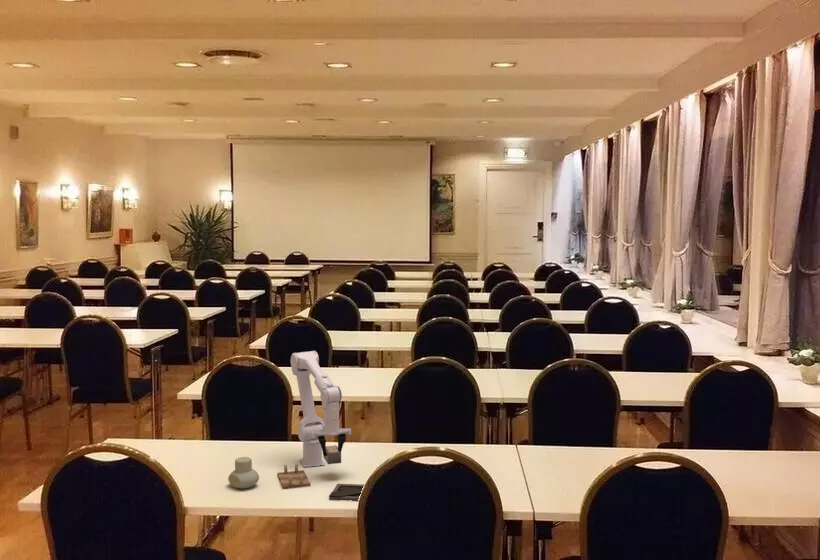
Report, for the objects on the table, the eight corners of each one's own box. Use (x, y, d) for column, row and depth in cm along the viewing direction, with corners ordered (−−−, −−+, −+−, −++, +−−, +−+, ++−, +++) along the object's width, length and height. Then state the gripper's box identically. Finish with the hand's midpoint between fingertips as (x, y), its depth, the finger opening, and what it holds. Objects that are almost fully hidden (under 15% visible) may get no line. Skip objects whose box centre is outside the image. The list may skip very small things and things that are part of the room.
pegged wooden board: (277, 475, 299) (277, 465, 299) (303, 472, 302) (303, 462, 302) (282, 489, 285) (282, 478, 284) (310, 486, 288) (310, 475, 287)
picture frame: (329, 501, 274) (380, 503, 272) (328, 495, 274) (380, 498, 272) (337, 487, 288) (386, 489, 285) (337, 482, 287) (386, 484, 285)
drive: (323, 456, 300) (323, 446, 300) (336, 455, 302) (336, 444, 301) (327, 464, 292) (327, 453, 291) (341, 462, 293) (341, 451, 293)
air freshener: (225, 485, 289) (224, 458, 288) (243, 479, 295) (243, 453, 294) (243, 492, 282) (243, 465, 281) (262, 486, 288) (261, 459, 287)
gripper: (313, 423, 289) (314, 459, 291) (352, 420, 294) (353, 456, 295) (310, 418, 296) (311, 454, 298) (348, 415, 300) (349, 450, 302)
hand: (331, 454), depth 297 cm, fingers closed on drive, 5 cm apart
